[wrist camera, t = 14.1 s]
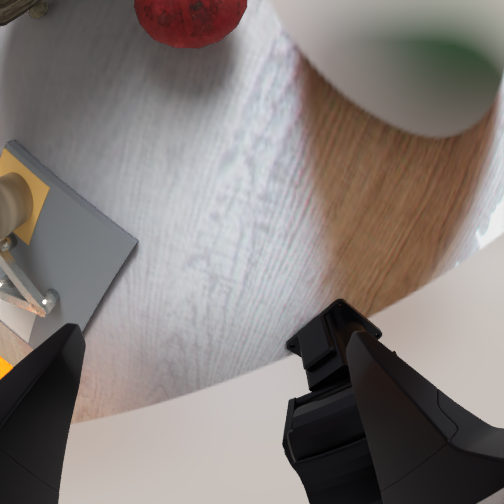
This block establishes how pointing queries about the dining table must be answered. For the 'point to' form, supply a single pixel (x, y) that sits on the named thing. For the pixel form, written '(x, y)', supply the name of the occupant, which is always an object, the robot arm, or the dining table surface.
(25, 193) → the peg
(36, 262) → the board
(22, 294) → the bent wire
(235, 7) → the onion
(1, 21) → the tabletop clock
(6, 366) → the orange juice
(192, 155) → the dining table surface
